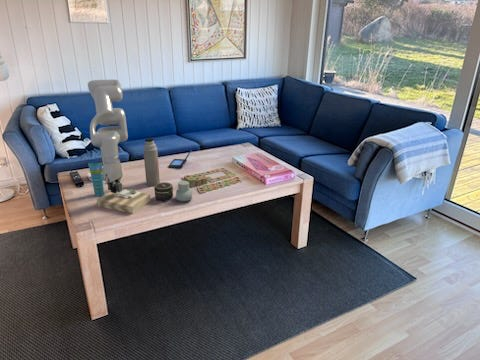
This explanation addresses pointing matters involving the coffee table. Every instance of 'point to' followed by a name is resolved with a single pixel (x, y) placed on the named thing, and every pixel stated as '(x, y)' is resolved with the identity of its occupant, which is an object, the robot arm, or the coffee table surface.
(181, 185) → the pale green rounded vessel
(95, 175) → the tube
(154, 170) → the thermos bottle
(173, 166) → the handheld game console
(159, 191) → the jar
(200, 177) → the pile of dominoes
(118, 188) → the peg
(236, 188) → the coffee table surface
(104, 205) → the tan flat box
